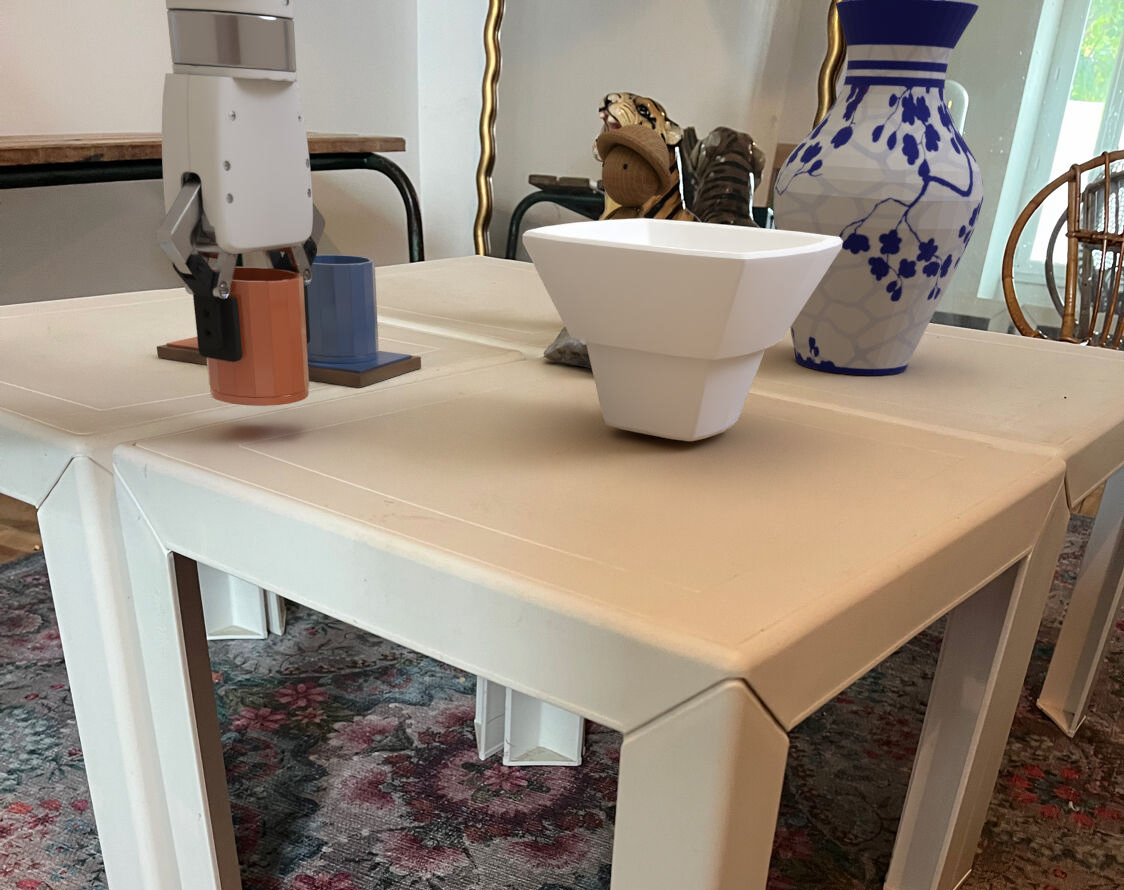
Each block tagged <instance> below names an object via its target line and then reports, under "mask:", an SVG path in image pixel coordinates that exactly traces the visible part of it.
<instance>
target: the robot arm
mask: <svg viewBox="0 0 1124 890" xmlns="http://www.w3.org/2000/svg"><path fill="white" fill-rule="evenodd" d="M165 7H166V8H165V9H166V10H167V11H166V15H167V23H168V24H167V25H168V35H169V45H170V56H171V63H172V64H171V66H172V67H171V68H172V73H170V72H165V74H164V75H165V76H164V83H163V91H162V92H163V93H162V107H161V108H162V109H161V160H162V161H161V162H162V164H161V165H162V180H163V181H162V182H163V199H164V210H165V217H164V218H163V219H162V222H161V223H160V224H159V227H158V228H157V230H156V233H155V240H156V242H157V244H158V245H159V247H160V249H161V250H162V251H163V252H164V254H165V255H166V257H167V258H168V260H170V262H171V263H172V264H171V265H172V267H173V270H174V271H175V272H176V274H177V275H178V276H179V278H180V279H182V280H181V281H183V282H184V284H183V285H184V289H185V291H186V293H187V294H188V295H192V299H193V309H194V318H195V329H196V337H197V339H198V349H199V353H200V355H201V356H203V357H207V358H213V359H218V360H224V361H230V362H236V361H239V360H241V358H242V346H241V334H240V322H239V310H238V302H237V298H233V297H228V296H229V294H230V290H231V285H232V280H233V276H234V271H235V267H237V261H238V256H239V254H248V253H249V254H250V253H255V252H262V255H263V257H264V260H265V262H266V265H267V268H275V269H283V270H290V271H293V272H297V273H300V274H301V275H302V276H303V284H306V285H308V284H310V282H311V280H312V271H311V266H312V264H313V261H314V259H315V257H316V255H318V245H319V243H320V241H321V238H322V236H323V233H324V230H325V228H326V220H325V218H324V216H323V215H322V213H321V212H320V210H319V209H318V208H317V206H316V205H315V204H314V202H313V201H314V200H313V186H312V185H313V184H312V172H311V163H310V161H311V160H310V153H309V143H308V136H307V130H306V123H305V122H306V121H305V116H304V110H303V104H302V100H301V94H300V88H299V83H298V73H297V57H296V37H295V21H294V19H295V18H294V15H295V14H294V0H165ZM282 253H283V255H282ZM210 259H214V260H216V263H215V267H214V268H215V272H214V271H213V270H212V269H211V268H212V267H211V266H210V264H209V260H210ZM306 285H304V302H305V320H306V339H307V344H308V343H309V342H310V327H309V309H308V290H307V286H306Z"/></svg>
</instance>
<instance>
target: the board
mask: <svg viewBox="0 0 1124 890" xmlns="http://www.w3.org/2000/svg"><path fill="white" fill-rule="evenodd" d="M156 353H157V358H159V359H165V360H171V361H179V362H183V363H184V362H185V363H192V364H199V365H206V366H207V359H206V357H203V356H201V355H200V353H199V349H198V339H197V336H194V337H190V338H189V337H188V338H185V339H180V340H175V341H170V342H167V343H166V344H161V345H157V346H156ZM421 368H422V357H421V356H419V355H412V354H408V353H407V354H406V353H399V352H391V351H383V350H378V358H376V359H374V360H372V361H368V362H362V363H351V364H330V363H319V362H313V361H309V360H308V376H309V381H313V382H319V383H325V384H333V385H340V386H346V387H353V388H358V389H359V388H364V387H366V386H370V385H373V384H376V383H378V382H382V381H385V380H388V379H391V378H394V377H397V376H400V375H403V374H404V375H405V374H407V373H410V372H412V371H415V370H418V369H421Z"/></svg>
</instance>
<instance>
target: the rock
mask: <svg viewBox="0 0 1124 890" xmlns="http://www.w3.org/2000/svg"><path fill="white" fill-rule="evenodd" d="M543 358H546V359H548V360H549V361H553V362H557V363H562V364H565V365H568V366H577V367H578V366H579V367H583V368H584V367H585V368H588V369H592V367H591V363H590V359H589V354H588V350H587V346H586V341H584V340H579V339H575V338H571V337H570V335H569V333H568V331H567V329H566V327H565V325H564V326H563V327H562V329H561V330H560V333H559V334H558V335H557V337H556V338H555V339H554V341H553V342H551V343H550V344H549V345H548V346H547V348H546V349H545V350H544V352H543Z"/></svg>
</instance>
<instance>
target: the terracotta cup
mask: <svg viewBox="0 0 1124 890" xmlns="http://www.w3.org/2000/svg"><path fill="white" fill-rule="evenodd" d="M211 269H212V270H213V271H214V272H215V267H213V268H212V267H211ZM228 297H233V298H237V302H238V310H239V322H240V334H241V346H242V358H241V360H239V361H236V362H230V361H224V360H218V359H213V358H207V357H206V359H207V365H206V368H207V378H208V379H207V380H208V385H209V392H210V396H211V398H213V399H215V400H217V401H220V402H223V403H228V404H231V405H239V406H250V407H251V406H252V407H256V406H257V407H267V406H283V405H288V404H289V405H291V404H295V403H298V402H301V401H304V400H306V399H307V398H308V397H309V394H310V393H309V392H310V391H309V387H310V380H309V376H308V357H307V339H306V320H305V302H304V284H303V276H302V275H301V274H300V273H297V272H293V271H290V270H283V269H275V268H268V267H260V266H235V271H234V276H233V280H232V285H231V290H230V294H229V296H228Z"/></svg>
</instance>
